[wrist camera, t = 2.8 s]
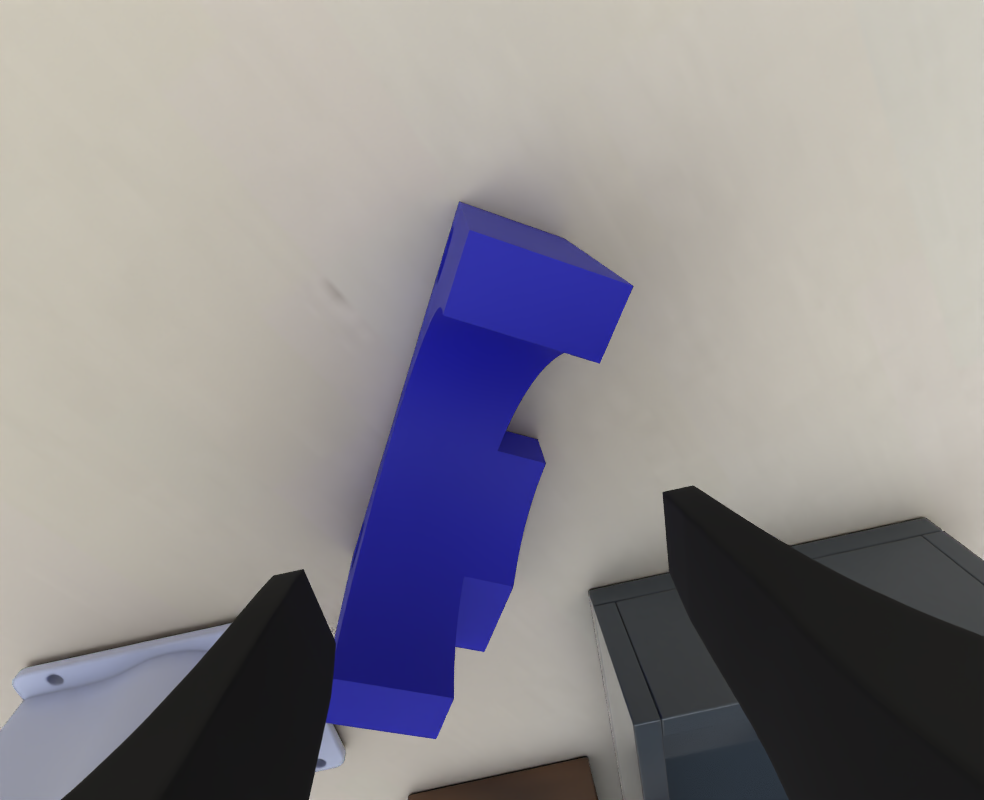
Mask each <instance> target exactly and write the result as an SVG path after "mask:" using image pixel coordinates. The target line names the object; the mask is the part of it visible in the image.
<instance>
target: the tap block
mask: <svg viewBox="0 0 984 800" xmlns="http://www.w3.org/2000/svg"><path fill="white" fill-rule="evenodd" d="M408 800H598V797H597V793H596V789H595V785H594V781H593V777H592V772H591V768H590V764H589V760H588V758H587V757H584V758H579V759H574V760H570V761H565V762H561V763H556V764H551V765H547V766H542V767H537V768H533V769H528V770H523V771H519V772H514V773H509V774H505V775H500V776H496V777H491V778H486V779H482V780H477V781H472V782H468V783H463V784H458V785H454V786H449V787H444V788H440V789H435V790H430V791H426V792H421V793H417V794H412V795H409V796H408Z"/></svg>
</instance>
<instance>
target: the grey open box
mask: <svg viewBox="0 0 984 800" xmlns="http://www.w3.org/2000/svg"><path fill="white" fill-rule="evenodd" d="M790 547H792V548H794V549H795V550H797V551H799V552H801V553H802V554H804V555H806V556H808V557H810V558H812V559H813V560H815V561H817V562H819V563H821V564H823V565H825V566H826V567H828V568H830V569H832V570H834V571H836V572H838V573H840V574H841V575H843V576H845V577H847V578H849V579H851V580H853V581H855V582H857V583H859V584H862V585H864V586H866V587H868V588H870V589H872V590H874V591H877V592H879V593H881V594H883V595H885V596H887V597H890V598H892V599H894V600H896V601H898V602H901V603H903V604H905V605H907V606H909V607H912V608H914V609H916V610H919V611H921V612H924V613H926V614H928V615H931V616H933V617H936V618H938V619H940V620H943V621H946V622H948V623H951V624H953V625H956V626H959V627H961V628H964V629H966V630H969V631H971V632H974V633H977V634H979V635H982V636H984V560H982V559H981V558H980V557H978V556H977V555H976V554H974V553H973V552H972V551H970V550H969V549H968V548H966V547H965V546H964V545H962V544H961V543H959V542H958V541H957V540H955V539H954V538H953V537H951V536H950V535H949V534H947V533H946V532H945V531H942V529H940V528H939V527H938V526H936V525H935V524H934V523H932V522H931V521H930V520H928V519H927V518H919V519H915V520H910V521H905V522H901V523H896V524H892V525H887V526H882V527H878V528H873V529H869V530H864V531H859V532H855V533H850V534H846V535H841V536H836V537H832V538H827V539H822V540H818V541H813V542H809V543H804V544H799V545H795V546H790ZM588 594H589V600H590V606H591V612H592V618H593V624H594V630H595V636H596V642H597V648H598V654H599V660H600V666H601V672H602V677H603V683H604V689H605V695H606V701H607V707H608V713H609V719H610V725H611V731H612V737H613V743H614V749H615V755H616V761H617V767H618V773H619V779H620V785H621V791H622V797H623V800H789V799H788V797H787V795H786V792H785V790H784V788H783V786H782V784H781V782H780V780H779V778H778V776H777V773H776V771H775V769H774V767H773V765H772V763H771V761H770V759H769V757H768V755H767V753H766V751H765V749H764V747H763V745H762V743H761V742H760V740H759V738H758V736H757V734H756V732H755V730H754V729H753V727H752V725H751V723H750V722H749V720H748V718H747V717H746V715H745V713H744V712H743V710H742V708H741V706H740V705H739V703H738V701H737V700H736V698H735V696H734V695H733V693H732V691H731V689H730V688H729V686H728V684H727V683H726V681H725V679H724V677H723V676H722V674H721V672H720V671H719V669H718V667H717V666H716V664H715V662H714V660H713V659H712V657H711V655H710V654H709V652H708V650H707V648H706V647H705V645H704V643H703V642H702V640H701V638H700V636H699V635H698V633H697V631H696V629H695V628H694V626H693V624H692V622H691V621H690V619H689V616H688V614H687V612H686V610H685V608H684V605H683V603H682V601H681V599H680V596H679V594H678V592H677V589H676V587H675V585H674V582H673V580H672V578H671V575H670V573H666V574H661V575H657V576H652V577H647V578H643V579H638V580H633V581H629V582H624V583H620V584H615V585H610V586H606V587H601V588H597V589H592V590H589V591H588Z"/></svg>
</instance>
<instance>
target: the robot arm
mask: <svg viewBox="0 0 984 800" xmlns="http://www.w3.org/2000/svg"><path fill="white" fill-rule="evenodd" d="M663 503H664V515H665V527H666V539H667V551H668V563H669V573H670V575H671V578H672V580H673V582H674V585H675V587H676V589H677V592H678V594H679V596H680V599H681V601H682V603H683V605H684V608H685V610H686V612H687V614H688V616H689V619H690V621H691V622H692V624H693V626H694V628H695V629H696V631H697V633H698V635H699V636H700V638H701V640H702V642H703V643H704V645H705V647H706V648H707V650H708V652H709V654H710V655H711V657H712V659H713V660H714V662H715V664H716V666H717V667H718V669H719V671H720V672H721V674H722V676H723V677H724V679H725V681H726V683H727V684H728V686H729V688H730V689H731V691H732V693H733V695H734V696H735V698H736V700H737V701H738V703H739V705H740V706H741V708H742V710H743V712H744V713H745V715H746V717H747V718H748V720H749V722H750V723H751V725H752V727H753V729H754V730H755V732H756V734H757V736H758V738H759V740H760V742H761V743H762V745H763V747H764V749H765V751H766V753H767V755H768V757H769V759H770V761H771V763H772V765H773V767H774V769H775V771H776V773H777V776H778V778H779V780H780V782H781V784H782V786H783V788H784V790H785V792H786V795H787V797H788V799H789V800H984V636H982V635H979V634H977V633H974V632H971V631H969V630H966V629H964V628H961V627H959V626H956V625H953V624H951V623H948V622H946V621H943V620H940V619H938V618H936V617H933V616H931V615H928V614H926V613H924V612H921V611H919V610H916V609H914V608H912V607H909V606H907V605H905V604H903V603H901V602H898V601H896V600H894V599H892V598H890V597H887V596H885V595H883V594H881V593H879V592H877V591H874V590H872V589H870V588H868V587H866V586H864V585H862V584H859V583H857V582H855V581H853V580H851V579H849V578H847V577H845V576H843V575H841V574H840V573H838V572H836V571H834V570H832V569H830V568H828V567H826V566H825V565H823V564H821V563H819V562H817V561H815V560H813V559H812V558H810V557H808V556H806V555H804V554H802V553H801V552H799V551H797V550H795V549H794V548H792V547H790V546H788V545H787V544H785V543H783V542H782V541H780V540H778V539H777V538H775V537H773V536H772V535H770V534H768V533H767V532H765V531H763V530H762V529H760V528H759V527H757V526H755V525H754V524H752V523H751V522H749V521H747V520H746V519H744V518H743V517H741V516H740V515H738V514H736V513H735V512H733V511H732V510H730V509H729V508H727V507H726V506H724V505H723V504H721V503H720V502H718V501H716V500H715V499H713V498H712V497H710V496H709V495H707V494H706V493H704V492H703V491H701V490H700V489H698V488H696V487H695V486H689V487H684V488H680V489H675V490H670V491H666V492H663ZM335 650H336V642H335V640H334V638H333V635H332V633H331V631H330V629H329V626H328V624H327V622H326V619H325V617H324V615H323V613H322V610H321V608H320V606H319V604H318V601H317V599H316V597H315V594H314V592H313V590H312V588H311V585H310V583H309V581H308V578H307V576H306V574H305V572H304V569H302V570H298V571H293V572H288V573H284V574H279V575H274V576H273V577H272V578H271V579H270V580H269V581H268V582H267V583H266V584H265V585H264V586H263V587H262V589H261V590H260V591H259V592H258V593H257V594H256V595H255V597H254V598H253V599H252V600H251V601H250V602H249V604H248V605H247V606H246V607H245V608H244V610H243V611H242V612H241V613H240V614H239V615H238V617H237V618H236V619H235V620H234V621H233V623H229V624H225V625H220V626H216V627H211V628H206V629H202V630H197V631H192V632H188V633H183V634H179V635H174V636H169V637H165V638H160V639H156V640H151V641H146V642H142V643H137V644H133V645H128V646H123V647H119V648H114V649H110V650H105V651H100V652H96V653H91V654H87V655H82V656H77V657H73V658H68V659H64V660H59V661H54V662H50V663H45V664H41V665H36V666H31V667H27V668H24V669H22V670H21V671H20V672H19V673H18V674H17V675H16V676H15V678H14V679H13V680H12V685H13V687H14V689H15V690H16V692H17V693H18V694H19V695H20V696H21V698H22V699H23V701H22V703H21V704H20V705H19V707H18V708H17V709H16V711H15V712H14V713H13V715H12V716H11V717H10V718H9V720H8V721H7V722H6V724H5V725H4V726H3V728H2V729H1V730H0V800H309V796H310V792H311V787H312V783H313V778H314V774H315V772H317V771H322V770H327V769H331V768H336V767H338V766H340V765H341V764H343V762H344V760H345V754H346V751H345V748H344V746H343V744H342V742H341V740H340V737H339V735H338V733H337V731H336V729H335V727H334V725H333V724H330V723H326V719H327V714H328V710H329V705H330V700H331V694H332V685H333V675H334V663H335Z"/></svg>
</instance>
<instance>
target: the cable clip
mask: <svg viewBox="0 0 984 800" xmlns="http://www.w3.org/2000/svg"><path fill="white" fill-rule="evenodd" d="M632 288H633V285H631V284H630V283H628V282H627V281H626V280H624V279H623V278H621V277H620V276H618V275H617V274H615V273H614V272H612V271H611V270H609V269H608V268H607V267H605V266H604V265H602V264H601V263H599V262H598V261H596V260H595V259H593V258H592V257H591V256H589V255H588V254H586V253H585V252H583V251H582V250H580V249H579V248H577V247H576V246H575V245H573V244H572V243H570V242H569V241H567V240H566V239H564V238H562V237H559V236H556V235H553V234H550V233H547V232H545V231H542V230H539V229H536V228H533V227H530V226H527V225H525V224H522V223H519V222H516V221H513V220H510V219H508V218H505V217H502V216H499V215H496V214H493V213H491V212H488V211H485V210H482V209H479V208H476V207H474V206H471V205H468V204H465V203H462V202H459V204H458V207H457V210H456V214H455V217H454V220H453V224H452V227H451V230H450V234H449V237H448V240H447V244H446V247H445V250H444V254H443V257H442V260H441V264H440V267H439V270H438V274H437V277H436V280H435V284H434V287H433V290H432V294H431V297H430V300H429V304H428V307H427V310H426V314H425V317H424V320H423V324H422V327H421V330H420V334H419V337H418V340H417V344H416V347H415V350H414V354H413V357H412V361H411V364H410V367H409V371H408V374H407V377H406V381H405V384H404V387H403V391H402V394H401V397H400V401H399V404H398V407H397V411H396V414H395V417H394V421H393V424H392V427H391V431H390V434H389V437H388V441H387V444H386V447H385V451H384V454H383V457H382V461H381V464H380V467H379V471H378V474H377V477H376V481H375V484H374V487H373V491H372V494H371V497H370V501H369V504H368V507H367V511H366V514H365V517H364V521H363V524H362V527H361V531H360V534H359V537H358V541H357V544H356V547H355V551H354V554H353V558H352V562H351V567H350V571H349V576H348V580H347V585H346V589H345V594H344V598H343V603H342V607H341V612H340V616H339V621H338V625H337V630H336V634H335V639H334V640H335V642H336V650H335V663H334V675H333V685H332V694H331V700H330V705H329V710H328V714H327V719H326V723H330V724H337V725H343V726H350V727H357V728H364V729H371V730H377V731H384V732H391V733H398V734H405V735H412V736H418V737H425V738H432V739H436V738H437V736H438V734H439V731H440V729H441V727H442V725H443V722H444V720H445V718H446V715H447V713H448V711H449V708H450V706H451V704H452V702H453V699H454V660H455V647H460V648H465V649H471V650H476V651H482V652H485V649H486V647H487V645H488V643H489V640H490V638H491V636H492V634H493V631H494V629H495V627H496V625H497V622H498V620H499V618H500V616H501V613H502V611H503V609H504V607H505V604H506V602H507V600H508V598H509V595H510V593H511V591H512V589H513V585H514V579H515V572H516V566H517V561H518V555H519V550H520V545H521V541H522V537H523V532H524V528H525V524H526V520H527V517H528V513H529V510H530V506H531V503H532V500H533V497H534V494H535V491H536V488H537V485H538V482H539V480H540V477H541V474H542V472H543V469H544V467H545V464H546V462H545V459H544V456H543V453H542V450H541V447H540V444H539V441H538V439H534V438H530V437H527V436H523V435H519V434H516V433H512V432H508V431H506V429H507V427H508V425H509V423H510V421H511V419H512V417H513V415H514V413H515V411H516V409H517V407H518V405H519V403H520V402H521V400H522V398H523V397H524V395H525V393H526V392H527V390H528V389H529V387H530V386H531V384H532V383H533V381H534V380H535V379H536V377H537V376H538V375H539V373H540V372H541V371H542V370H543V369H544V368H545V367H546V366H547V365H548V364H549V363H550V362H551V361H552V360H554V359H555V358H556V357H558V356H560V355H561V354H563V353H567V354H570V355H574V356H577V357H580V358H583V359H587V360H590V361H593V362H596V363H600V362H601V359H602V357H603V355H604V353H605V350H606V348H607V346H608V343H609V341H610V339H611V336H612V334H613V332H614V330H615V327H616V325H617V323H618V320H619V318H620V316H621V313H622V311H623V309H624V307H625V304H626V302H627V300H628V297H629V295H630V293H631V290H632Z"/></svg>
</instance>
